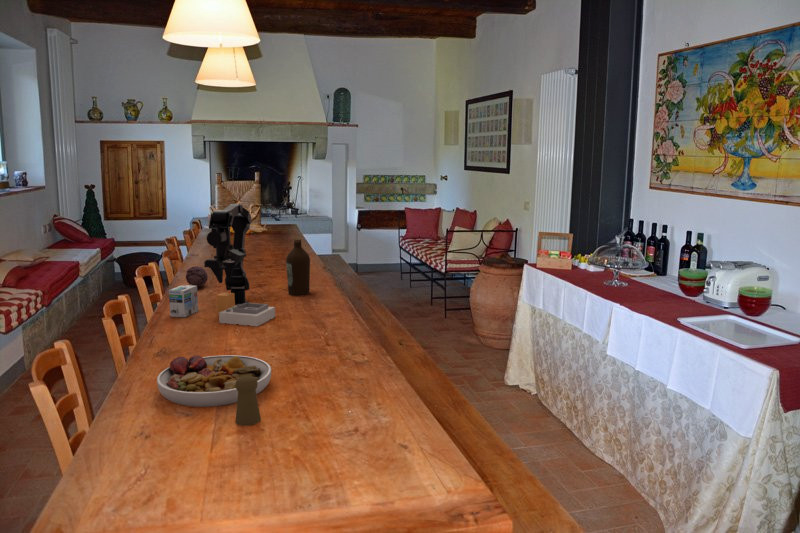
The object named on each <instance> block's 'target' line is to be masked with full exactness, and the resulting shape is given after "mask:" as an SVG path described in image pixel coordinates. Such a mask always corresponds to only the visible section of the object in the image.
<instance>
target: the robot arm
mask: <svg viewBox="0 0 800 533" xmlns="http://www.w3.org/2000/svg"><path fill="white" fill-rule="evenodd" d="M252 221H253V220H252V216H251V213H250V211H249V210H248V209H246V208H245V207H244V206H243V204H241V203H230V204H229V205H228V206H226V207H225V208H224V209H219V210H218V209H215V210H213V211H212V213H211V214H210V218H209V224H208V229H209V230H211V231H209V232H208V233H207V235H206V241H207V242H206V243H207V244H208V245H210V246H212V248H213V249H215V255H214V256H213V258H212V257H211V258H208V259H206V260H204V261H203V264H204V265H203V266H204V267H203V268H209V269H211V270H210V271H211V272H212V273H213V275H214V276H215V278H216V280H217V281H218V283H219V284H223V280H224V284H225V289H226V291H230V293H234V294H235V305H238V304H244V303H250V301H249V300H246V291H249V290H250V282H249V280H248V277H247V272H246V271H245V269H244V259H245V258H246V257H247V251H246V248H245V246H246V245H245V242H246V234H247V233H248V231H249V230H250V229H251V225H252ZM231 229H232V231H233V243H232V244H231ZM224 274H225V277H224ZM223 277H224V278H223Z"/></svg>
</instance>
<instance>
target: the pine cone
mask: <svg viewBox="0 0 800 533" xmlns="http://www.w3.org/2000/svg"><path fill="white" fill-rule="evenodd" d="M208 278H209V277H208V273H207V271H206V269H204V267H200V266H196V265H195V266H190V267H189V268H188V269H187V271H186V274H185V279H186V280H185V281H187V282H186V283H187V284H189V285H192V286H197V287H202V286H204V285H205V284H206V283H207V281H208V280H209V279H208Z"/></svg>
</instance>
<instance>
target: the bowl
mask: <svg viewBox="0 0 800 533" xmlns="http://www.w3.org/2000/svg"><path fill="white" fill-rule="evenodd" d="M242 376H253V377H255V378H256V379H257V382H258V385H257V388H256V395H258V394H260V393H261V392H262V391H263V390H264V389H265V388H267V386H268V384H269V383H270V381H271V378H272V367H271V365H270V363H268V362H267V361H264V360H263V359H260V358H256V357H253V356H246V355H234V354H231V355H229V354H227V355H223V354H222V355H210V356H203V357H202V356H201V355H199V354H197V355H193V356H190V357H189V359H188V358H186V357H185V356H178V357H175V358H174V359H172V361H170V363H169V366H168V367H166V368H165V369H164V370H162V371H161V372H160V373H159V374H158V376H156V385H157V388H158V390H159V392H160V394H161V395H162V396H163V397H164V398H165V399H167V400H168V401H170V402H172V403H174V404H178V405H181V406H187V407H198V408H200V407H201V408H207V407H209V408H211V407H220V406H225V405H226V406H227V405H231V404H237V399H238V391H237V389H236V386H235V384H236V380H237V379H238V378H239V377H242Z"/></svg>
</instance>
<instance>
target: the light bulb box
mask: <svg viewBox="0 0 800 533" xmlns="http://www.w3.org/2000/svg"><path fill="white" fill-rule="evenodd" d="M168 298H169V316H170V317H173V318H174V317H175V318H187V317H189V316H191V314H192V315H194V314H196V313H198V312H199V301H198V299H199V298H198V286H194V285H192V284H189V285H188V284H182V285H178V286H177V287H174V288H173V287H172V288H171V289H168ZM195 312H196V313H195ZM193 313H194V314H193Z"/></svg>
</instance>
